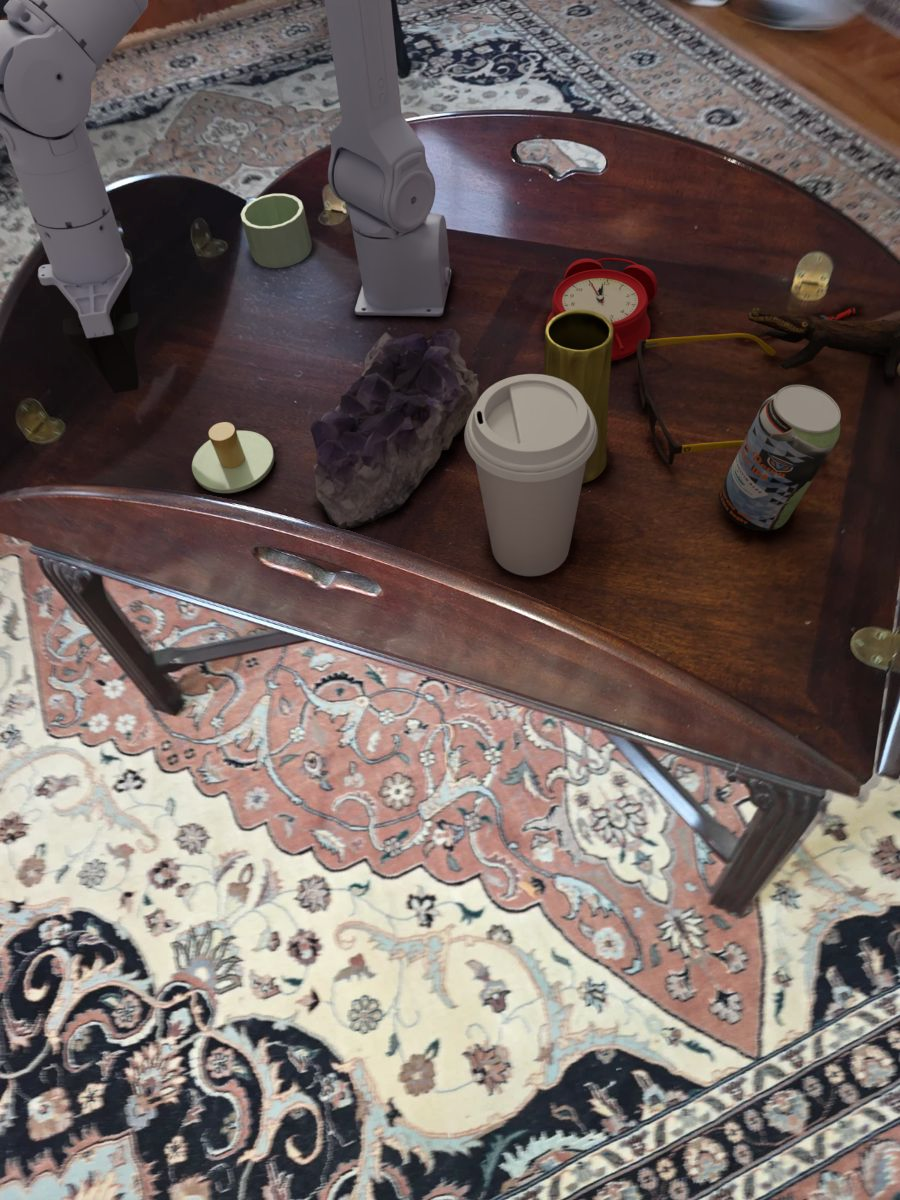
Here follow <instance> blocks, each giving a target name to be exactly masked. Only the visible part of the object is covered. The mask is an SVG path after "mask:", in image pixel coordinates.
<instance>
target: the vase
mask: <svg viewBox="0 0 900 1200" xmlns="http://www.w3.org/2000/svg"><path fill="white" fill-rule="evenodd" d="M612 345H613V326H612V324H611V323H610V321H609V320H608V319H607V318H606V317H604V316H603V315H601V314H599V313H597V312H594V311H590V310H583V309H576V310H568V311H565V312H562V313H560V314H558V315H556V316H555V317H554V318H552V319H551V320H550V321H549V323H548V324H547V326H546V325H545V331H544V355H543V356H544V357H543V359H544V361H543V363H544V364H543V366H544V367H543V368H544V369H543V375H548V376H552V377H556V378H559V379H561V380H563V381H565V382H567V383H569V384H571V385H572V386H573V387H575V388H576V389H577V390H578V391H579V392H580V393H581V395H582V396H583V398H584V400H585V402H586V403H587V404H588V406H589V407H590V409H591V411H592V413H593V415H594V418H595V421H596V425H597V430H598V438H597V443H596V446H595V449H594V451H593V452H592V454H591V455H590V457H589V458H588V459H587V461H586V466H585V471H584V476H583V481H582V485H583V484H587V483H590V482H592V481H593V480H595V479H597V478H598V477H599V476H600V475H601V474H602V473H603V472H604V470H605V469H606V467H607V462H608V453H607V439H608V418H609V417H608V416H609V415H608V414H609V393H610V378H611V370H612V369H611V367H612V361H611V356H612Z"/></svg>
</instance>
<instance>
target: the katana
mask: <svg viewBox="0 0 900 1200" xmlns="http://www.w3.org/2000/svg"><path fill="white" fill-rule="evenodd" d="M853 315H854V316H855V315H857V308H856V307H850V308H848V309H847V310H845V311H843V312H840V313H838V314H835V315H831V316H830V315H829V316H826V314H822V315H820V316H819V317H818V318H820V319H826V320H841V319H843V318H846V317H849V316H853ZM757 337H758V336H757ZM758 338H759V339H761V340H762V341H763V340H767V339H771V338H773V337H771V336H768V335H762V336H759V337H758ZM742 340H743V339H742ZM743 341H744V342H748V343H749V342H754V341H753V340H751V339H748V338H747V339H745V340H743Z"/></svg>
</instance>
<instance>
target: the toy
mask: <svg viewBox="0 0 900 1200" xmlns="http://www.w3.org/2000/svg"><path fill="white" fill-rule="evenodd" d="M747 320H748V321H751V322H754V323H756V324H759V325H763V326H765V327H768V328H769V329H765V331H764V332H763V334H764V336H766V335H768V336H771V337H772V338H774V339H778V340H781V341H783V342H786V343H792V344H793V343H794V344H797V343H799V342H801V341H803V340H804V339H805V340H807V341H808V343H807V344H806V345H805V346H804V347H803V348H802V349H801V350H800V351H798V352H797V353H795V354H794V355H793V356H791V357H789V358H787V359H786V360H785V361H783V362H781V363H780V365H779V366H780V368H781V369H783V370H789V369H793V368H797V367H801V366H804V365H805V364H807V363H810V362H812V361H813V360H814V359H815V357H817V355H818V354H820V353H821V351H822V349H825V347H828V348H830V349H833V350H839V351H844V352H853V353H861V354H862V353H863V354H870V355H873V354H880V353H881V354H884V355H885V356H884V365H883V370H884V374H885V377H886V378H890V379H894V377H895V374H896V362H897V358H898V355H899V353H900V319H897V320H896V319H891V320H890V319H889V320H888V319H881V320H856V321H855V320H850V321H846V320H841V319H839V320H826V319H820V318H819V317H817V316H815V315H812V314H809V315H806V313H803V312H801V313H797V314H791V313H786V312H783V311H778V310H772V309H764V308H763V309H762V308H760V307H753V308H751V311H750V312H748V314H747ZM771 328H772V329H771Z"/></svg>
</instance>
